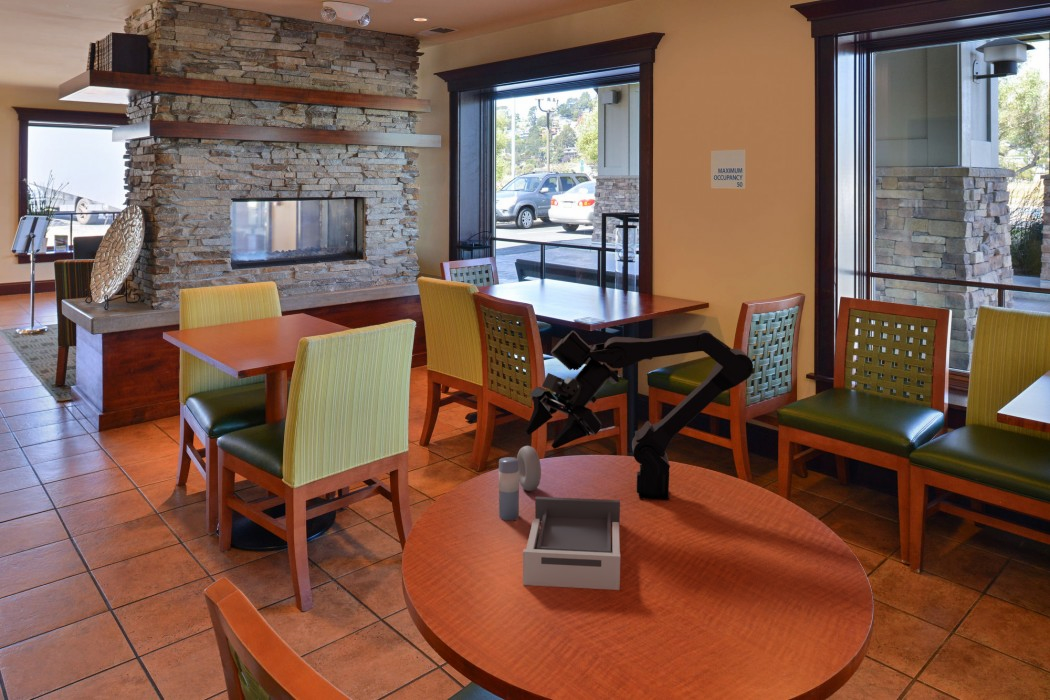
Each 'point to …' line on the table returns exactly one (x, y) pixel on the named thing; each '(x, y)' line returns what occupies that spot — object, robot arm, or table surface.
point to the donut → (529, 468)
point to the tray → (576, 523)
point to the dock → (571, 565)
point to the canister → (509, 488)
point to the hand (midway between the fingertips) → (539, 440)
